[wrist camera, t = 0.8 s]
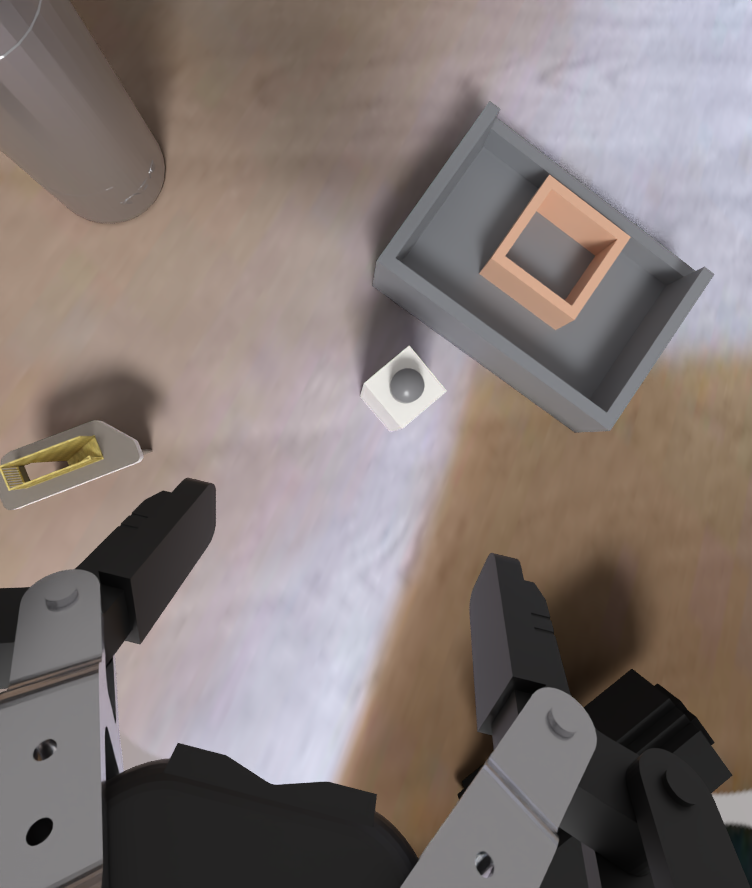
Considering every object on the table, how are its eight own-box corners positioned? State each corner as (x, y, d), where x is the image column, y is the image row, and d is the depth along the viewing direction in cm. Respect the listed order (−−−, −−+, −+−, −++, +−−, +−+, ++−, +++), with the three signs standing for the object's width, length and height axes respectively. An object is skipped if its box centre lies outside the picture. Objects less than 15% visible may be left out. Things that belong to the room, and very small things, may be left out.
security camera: (439, 766, 37) (474, 886, 27) (603, 635, 38) (696, 704, 28) (485, 827, 37) (537, 968, 27) (646, 696, 38) (753, 785, 28)
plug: (389, 432, 36) (404, 428, 27) (359, 396, 36) (364, 381, 27) (424, 402, 37) (450, 389, 28) (395, 366, 36) (411, 341, 27)
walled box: (372, 285, 36) (376, 260, 31) (476, 138, 37) (497, 90, 32) (574, 432, 38) (610, 430, 33) (672, 287, 38) (721, 264, 33)
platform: (-32, 430, 34) (-120, 427, 28) (181, 352, 36) (144, 332, 29) (26, 566, 35) (-48, 594, 28) (234, 484, 36) (209, 493, 29)
